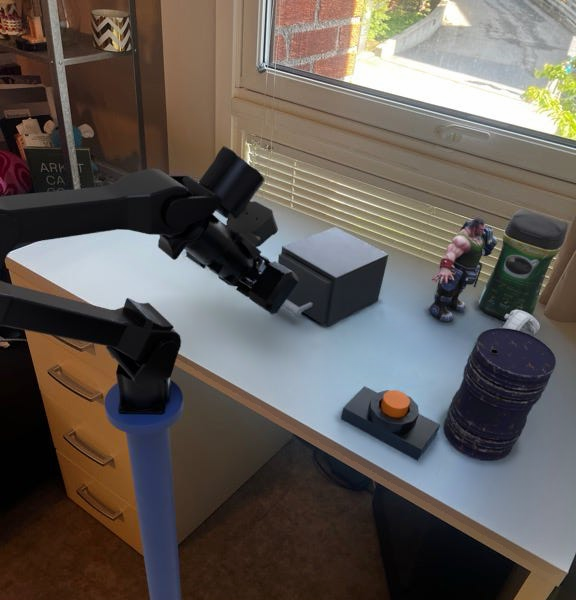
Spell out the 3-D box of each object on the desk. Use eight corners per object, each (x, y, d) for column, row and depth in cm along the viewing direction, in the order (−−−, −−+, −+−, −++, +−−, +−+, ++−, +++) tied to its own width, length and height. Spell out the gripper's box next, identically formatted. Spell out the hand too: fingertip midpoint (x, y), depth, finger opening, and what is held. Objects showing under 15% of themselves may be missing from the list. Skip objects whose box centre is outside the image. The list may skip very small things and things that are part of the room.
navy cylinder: (494, 409, 82) (533, 326, 72) (526, 459, 75) (573, 375, 65) (432, 412, 80) (462, 328, 71) (458, 464, 73) (496, 378, 63)
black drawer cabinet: (327, 327, 94) (336, 277, 88) (277, 294, 101) (281, 246, 94) (377, 301, 102) (388, 254, 96) (328, 272, 108) (335, 226, 102)
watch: (523, 370, 90) (550, 313, 83) (501, 391, 85) (527, 334, 78) (492, 353, 93) (516, 297, 86) (469, 373, 88) (492, 316, 81)
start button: (375, 409, 74) (378, 400, 73) (388, 395, 77) (390, 386, 76) (399, 422, 73) (402, 412, 72) (411, 407, 75) (414, 398, 74)
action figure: (437, 341, 94) (470, 243, 82) (404, 324, 97) (431, 227, 85) (488, 299, 106) (523, 209, 94) (457, 285, 109) (488, 196, 97)
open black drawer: (304, 332, 91) (309, 291, 86) (257, 301, 97) (260, 261, 92) (368, 299, 100) (376, 261, 95) (322, 273, 106) (328, 235, 101)
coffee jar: (535, 312, 104) (578, 218, 92) (522, 330, 99) (566, 233, 87) (486, 292, 108) (521, 200, 96) (471, 309, 103) (506, 214, 91)
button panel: (339, 419, 78) (344, 398, 75) (362, 396, 82) (367, 375, 79) (417, 462, 73) (424, 441, 70) (437, 434, 77) (444, 414, 74)
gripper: (296, 217, 68) (341, 271, 81) (201, 167, 77) (256, 223, 90) (244, 292, 68) (297, 333, 82) (156, 234, 78) (217, 280, 91)
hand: (266, 289), depth 86 cm, fingers closed
